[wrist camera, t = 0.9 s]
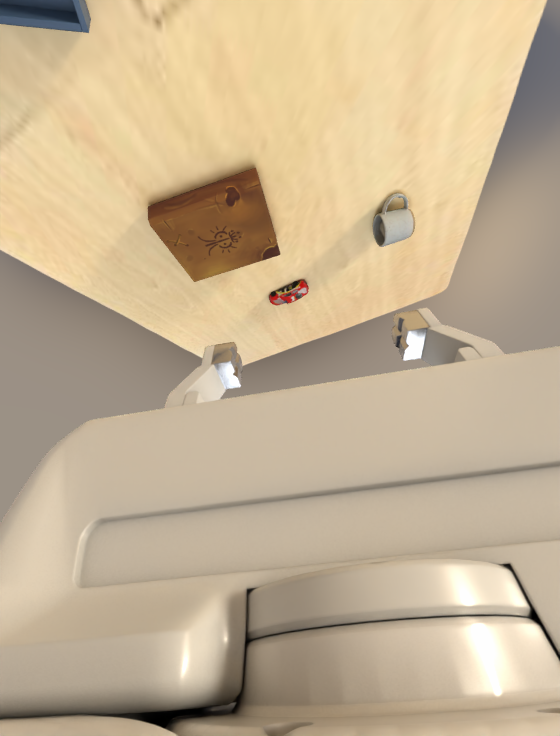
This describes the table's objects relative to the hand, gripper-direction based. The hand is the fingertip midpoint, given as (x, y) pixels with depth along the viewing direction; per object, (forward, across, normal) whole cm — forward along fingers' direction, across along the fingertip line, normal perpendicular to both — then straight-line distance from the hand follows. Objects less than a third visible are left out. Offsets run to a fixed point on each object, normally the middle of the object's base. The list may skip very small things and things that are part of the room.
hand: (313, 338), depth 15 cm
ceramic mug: (+67, -26, +16) cm, 74 cm away
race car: (+73, +2, +35) cm, 82 cm away
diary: (+59, +15, +8) cm, 62 cm away
